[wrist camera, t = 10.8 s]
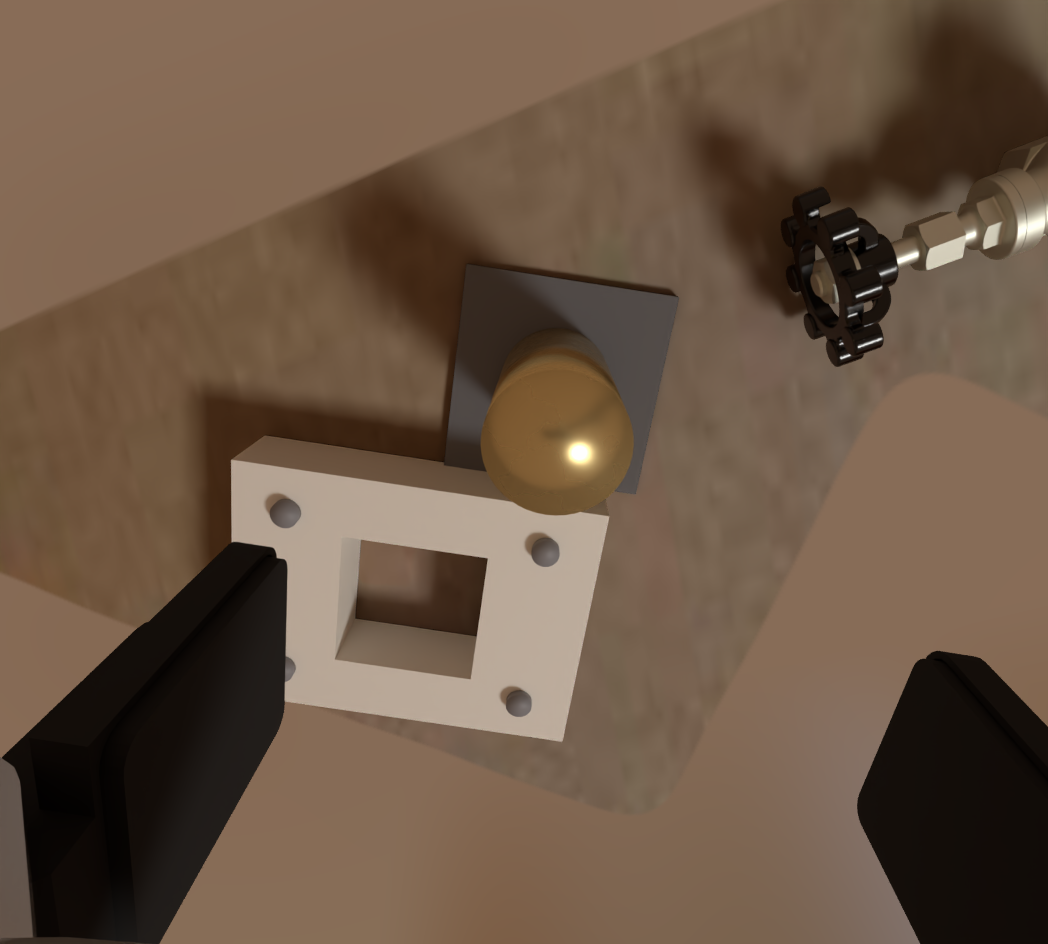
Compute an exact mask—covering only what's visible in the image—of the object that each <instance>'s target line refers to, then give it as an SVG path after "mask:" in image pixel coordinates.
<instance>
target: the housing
mask: <svg viewBox="0 0 1048 944" xmlns="http://www.w3.org/2000/svg"><path fill="white" fill-rule="evenodd" d="M231 519H232V542H241V543H248V544H254V545H261V546H267V547H273V548H274V549H275V551H276V555H277V558H280V559H285V560H286V562H287V569H288V574H287V618H286V662H285V701H286V702H293V703H300V704H307V705H314V706H321V707H327V708H334V709H341V710H348V711H355V712H362V713H369V714H376V715H383V716H389V717H396V718H403V719H410V720H417V721H424V722H431V723H438V724H445V725H451V726H458V727H465V728H472V729H479V730H486V731H493V732H500V733H507V734H513V735H520V736H527V737H534V738H541V739H548V740H555V741H563V736H564V731H565V726H566V722H567V717H568V712H569V707H570V702H571V698H572V693H573V688H574V683H575V678H576V674H577V669H578V664H579V659H580V654H581V650H582V645H583V640H584V635H585V630H586V626H587V621H588V616H589V611H590V606H591V602H592V597H593V592H594V587H595V582H596V578H597V573H598V568H599V563H600V558H601V554H602V549H603V544H604V539H605V534H606V530H607V525H608V520H609V513H608V508H607V503H606V499H605V500H603V501H602V502H601V503H599V504H597V505H595V506H594V507H592V508H589V509H587V510H585V511H582V512H578V513H575V514H569V515H557V516H555V515H544V514H539V513H535V512H532V511H529V510H526V509H524V508H522V507H520V506H518V505H517V504H515V503H513V502H512V501H510V500H509V499H508V498H507V497H505V496H504V495H503V494H502V493H501V492H500V491H499V490H498V489H497V487H496V486H495V485H494V483H493V482H492V480H491V479H490V477H489V475H488V473H487V472H484V471H478V470H471V469H464V468H458V467H451V466H445V465H444V462H438V461H431V460H425V459H418V458H411V457H405V456H398V455H392V454H385V453H378V452H372V451H365V450H358V449H352V448H345V447H339V446H332V445H325V444H319V443H312V442H305V441H299V440H292V439H285V438H279V437H272V436H266V435H265V436H263V437H262V438H261V439H259V440H258V441H256V442H255V443H254V444H252V445H251V446H249V447H248V448H247V449H245V450H244V451H242V452H241V453H240V454H238V455H237V456H236V457H234V458H233V459H231ZM361 540H368V541H375V542H381V543H388V544H395V545H401V546H408V547H415V548H422V549H428V550H435V551H442V552H448V553H455V554H462V555H469V556H475V557H482V558H488V562H487V569H486V576H485V583H484V590H483V597H482V604H481V611H480V618H479V625H478V632H477V636H471V635H464V634H457V633H450V632H443V631H437V630H430V629H423V628H416V627H409V626H403V625H396V624H389V623H382V622H375V621H369V620H362V619H355V616H356V602H357V587H358V573H359V558H360V543H361Z"/></svg>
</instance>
